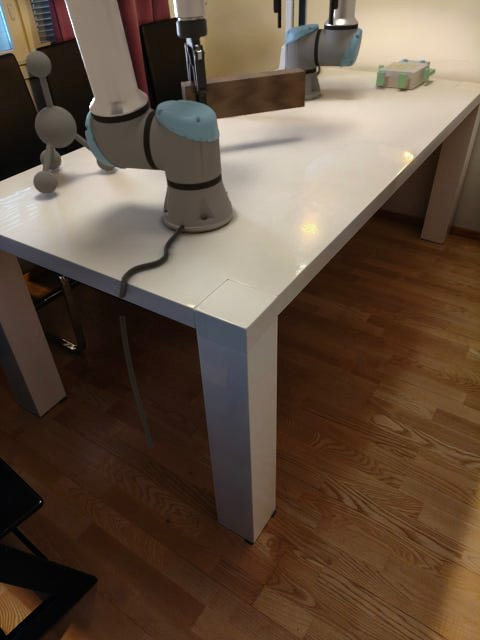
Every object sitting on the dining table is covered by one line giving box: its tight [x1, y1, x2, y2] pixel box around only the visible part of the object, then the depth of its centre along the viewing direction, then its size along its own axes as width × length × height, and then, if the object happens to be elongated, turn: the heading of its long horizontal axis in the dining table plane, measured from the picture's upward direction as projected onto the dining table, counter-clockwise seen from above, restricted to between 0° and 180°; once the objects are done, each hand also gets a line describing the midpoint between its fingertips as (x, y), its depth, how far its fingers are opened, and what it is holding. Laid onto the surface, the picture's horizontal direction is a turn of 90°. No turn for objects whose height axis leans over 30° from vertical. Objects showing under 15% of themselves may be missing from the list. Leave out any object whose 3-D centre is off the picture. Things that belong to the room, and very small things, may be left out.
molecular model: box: [25, 50, 116, 195], centre depth 121 cm, size 24×22×30 cm
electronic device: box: [278, 0, 308, 70], centre depth 202 cm, size 12×8×30 cm, turn 105°
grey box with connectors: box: [375, 58, 437, 90], centre depth 192 cm, size 26×6×20 cm
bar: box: [180, 68, 306, 120], centre depth 134 cm, size 34×5×9 cm, turn 106°
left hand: (200, 116), depth 134 cm, fingers closed on bar, 5 cm apart
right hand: (305, 26), depth 129 cm, fingers open, 13 cm apart
